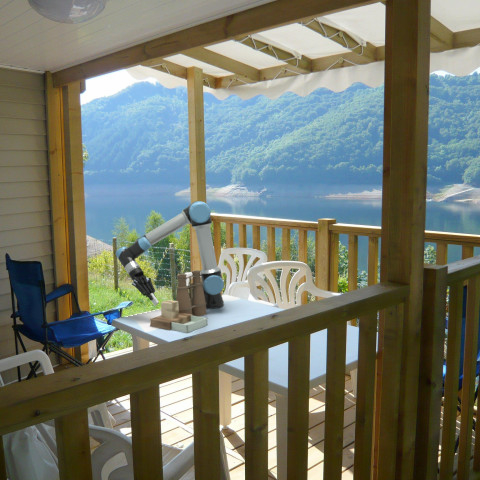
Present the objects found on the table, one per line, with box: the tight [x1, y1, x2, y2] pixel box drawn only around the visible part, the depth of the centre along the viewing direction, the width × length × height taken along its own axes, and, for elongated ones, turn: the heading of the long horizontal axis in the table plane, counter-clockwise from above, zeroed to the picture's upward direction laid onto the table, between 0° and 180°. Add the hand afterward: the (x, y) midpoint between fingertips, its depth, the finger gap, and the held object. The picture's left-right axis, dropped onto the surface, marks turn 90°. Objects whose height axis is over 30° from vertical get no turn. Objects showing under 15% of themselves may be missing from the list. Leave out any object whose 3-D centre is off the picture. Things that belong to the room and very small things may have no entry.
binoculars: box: [175, 270, 207, 317], centre depth 284 cm, size 21×10×25 cm, turn 137°
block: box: [160, 299, 179, 319], centre depth 269 cm, size 6×7×8 cm
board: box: [149, 313, 193, 331], centre depth 269 cm, size 18×14×4 cm
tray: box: [171, 316, 208, 334], centre depth 262 cm, size 16×11×4 cm
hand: (156, 304), depth 274 cm, fingers closed
